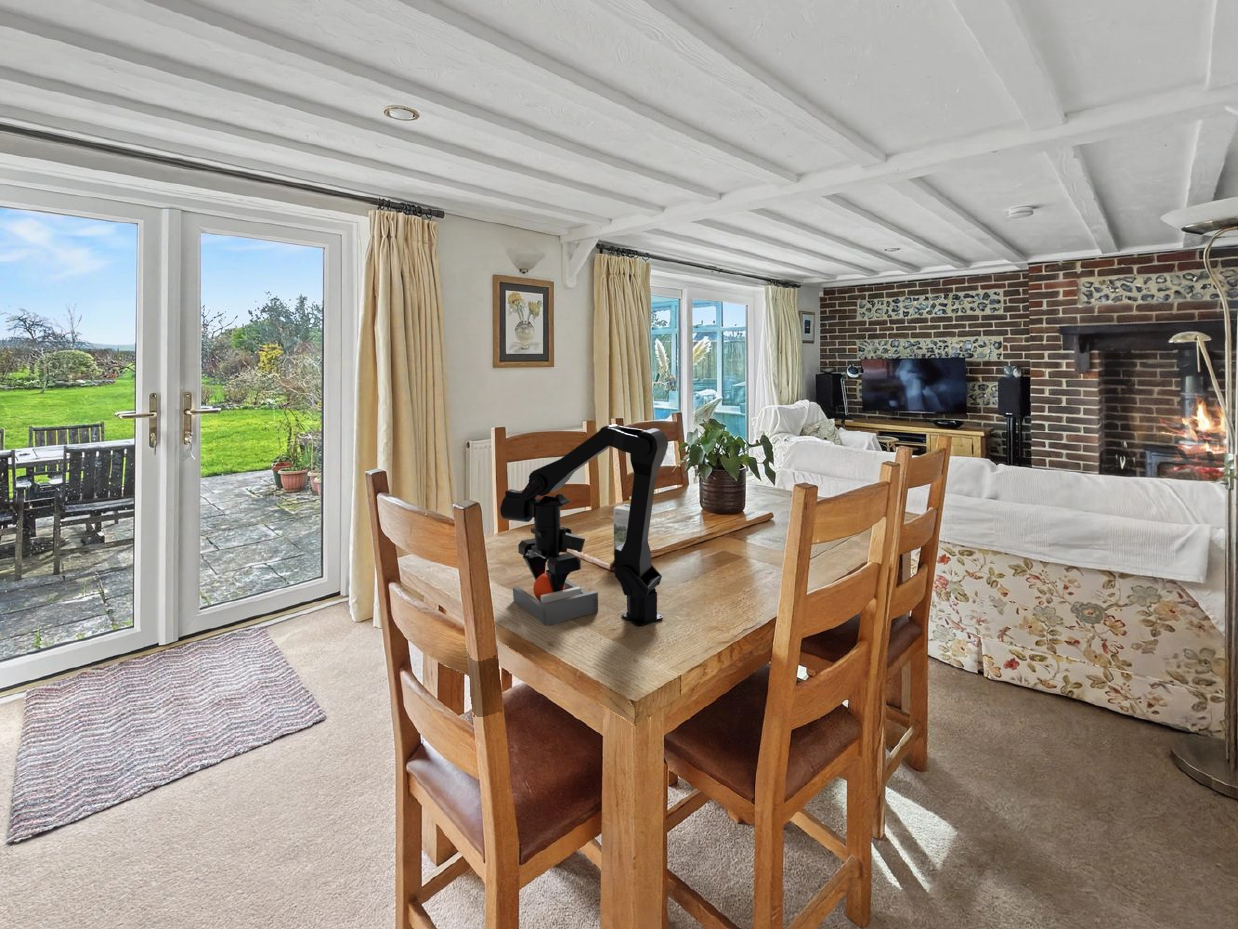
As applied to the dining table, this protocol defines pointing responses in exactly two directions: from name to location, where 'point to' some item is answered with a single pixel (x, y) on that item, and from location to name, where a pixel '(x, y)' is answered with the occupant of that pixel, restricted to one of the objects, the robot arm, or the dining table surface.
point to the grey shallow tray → (558, 605)
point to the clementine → (542, 586)
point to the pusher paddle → (560, 594)
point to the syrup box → (620, 524)
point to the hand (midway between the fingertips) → (549, 592)
